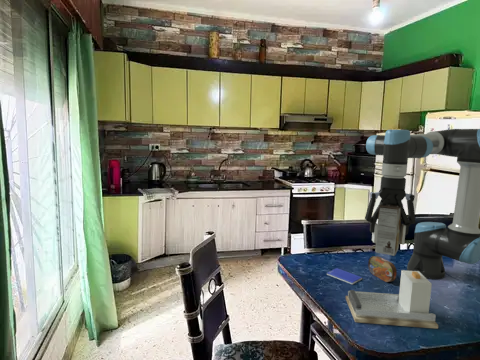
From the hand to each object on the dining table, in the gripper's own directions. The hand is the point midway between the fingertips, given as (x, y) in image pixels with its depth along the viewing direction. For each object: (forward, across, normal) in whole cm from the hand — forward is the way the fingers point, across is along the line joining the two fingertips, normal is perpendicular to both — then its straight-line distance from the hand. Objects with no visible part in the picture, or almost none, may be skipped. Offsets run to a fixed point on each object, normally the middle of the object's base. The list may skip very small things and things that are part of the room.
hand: (387, 242), depth 115 cm
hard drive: (+26, -8, +28) cm, 39 cm away
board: (+25, +2, 0) cm, 25 cm away
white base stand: (+24, +2, 0) cm, 24 cm away
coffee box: (+3, 0, 0) cm, 3 cm away
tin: (+26, +8, +30) cm, 40 cm away
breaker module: (+24, +10, 0) cm, 26 cm away
